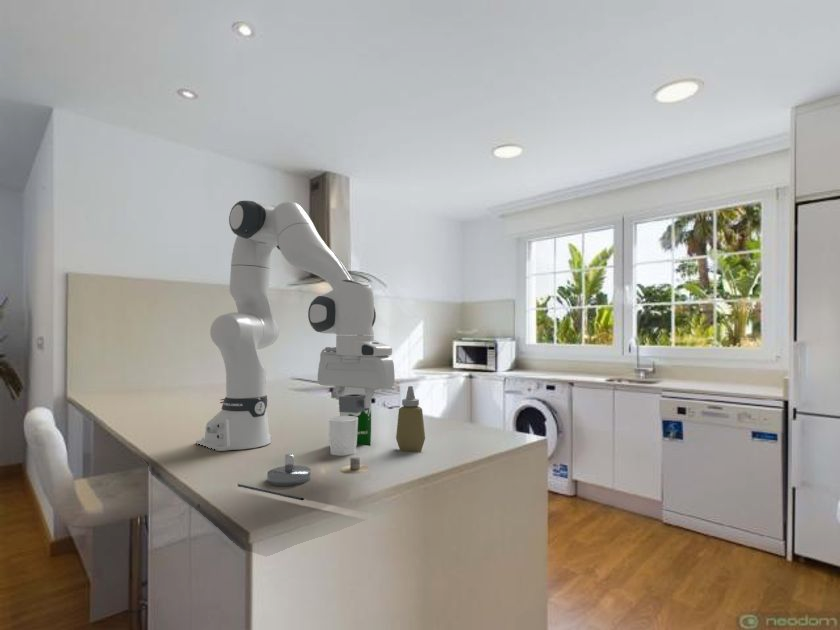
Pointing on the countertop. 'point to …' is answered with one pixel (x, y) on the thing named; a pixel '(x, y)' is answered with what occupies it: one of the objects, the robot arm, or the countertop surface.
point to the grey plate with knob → (286, 476)
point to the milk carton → (360, 418)
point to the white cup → (343, 435)
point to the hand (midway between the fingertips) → (354, 406)
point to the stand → (355, 467)
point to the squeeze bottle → (410, 424)
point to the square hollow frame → (351, 403)
